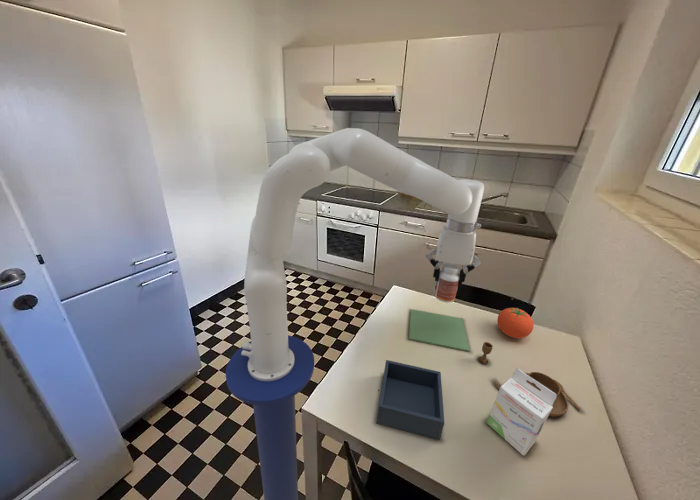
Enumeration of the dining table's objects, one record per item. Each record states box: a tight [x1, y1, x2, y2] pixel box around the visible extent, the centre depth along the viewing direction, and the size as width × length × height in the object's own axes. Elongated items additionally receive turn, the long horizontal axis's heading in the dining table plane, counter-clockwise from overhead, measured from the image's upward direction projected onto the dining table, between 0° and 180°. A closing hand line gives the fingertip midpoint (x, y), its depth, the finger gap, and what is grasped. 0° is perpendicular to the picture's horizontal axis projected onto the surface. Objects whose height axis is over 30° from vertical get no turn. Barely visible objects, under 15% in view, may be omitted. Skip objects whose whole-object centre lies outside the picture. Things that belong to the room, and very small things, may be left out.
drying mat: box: [408, 308, 470, 352], centre depth 93 cm, size 18×16×1 cm
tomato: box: [496, 307, 535, 339], centre depth 90 cm, size 10×10×10 cm
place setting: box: [477, 341, 582, 417], centre depth 73 cm, size 18×20×6 cm
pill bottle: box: [433, 262, 460, 304], centre depth 85 cm, size 6×6×11 cm
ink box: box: [486, 367, 557, 456], centre depth 58 cm, size 9×5×15 cm, turn 35°
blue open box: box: [375, 359, 445, 441], centre depth 65 cm, size 14×14×6 cm
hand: (447, 280), depth 85 cm, fingers closed on pill bottle, 6 cm apart
